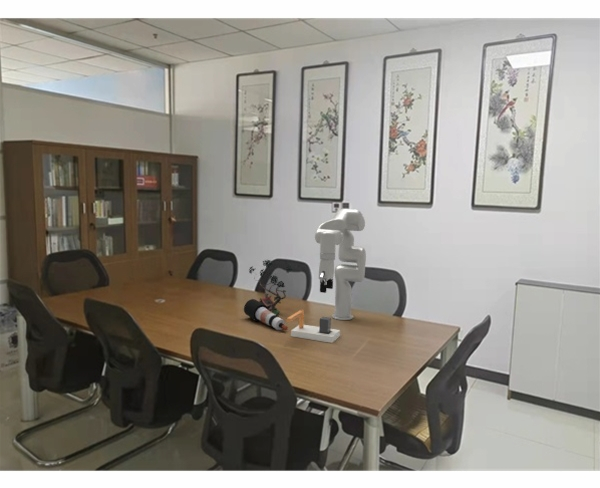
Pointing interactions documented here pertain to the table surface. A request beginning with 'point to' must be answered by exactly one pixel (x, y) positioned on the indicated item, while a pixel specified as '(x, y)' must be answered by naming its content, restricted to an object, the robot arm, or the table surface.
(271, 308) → the bonsai tree
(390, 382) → the table surface
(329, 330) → the plug
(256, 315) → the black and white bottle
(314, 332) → the socket block
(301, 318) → the orange piece
